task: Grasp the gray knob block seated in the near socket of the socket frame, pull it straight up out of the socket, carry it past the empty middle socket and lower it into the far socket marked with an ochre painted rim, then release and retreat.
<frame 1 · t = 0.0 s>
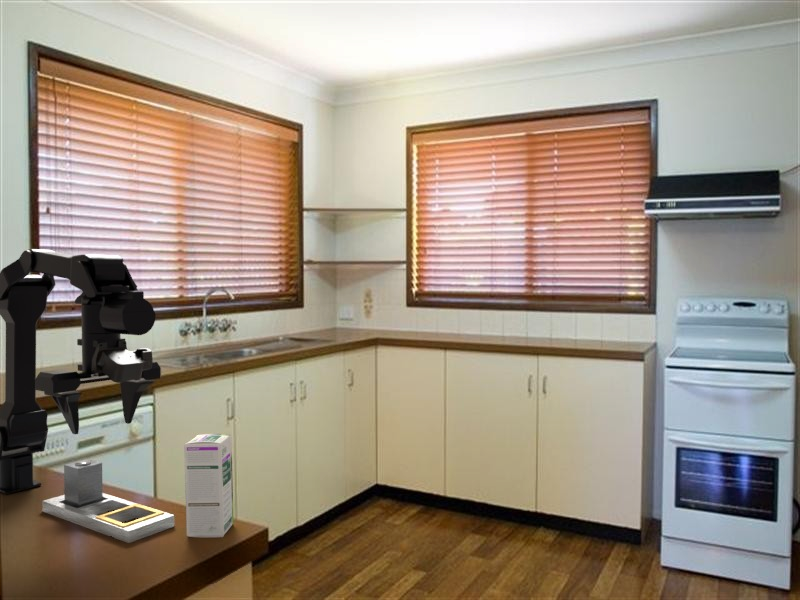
hand: (102, 428, 107), 15 cm above the counter, fingers open, 9 cm apart
gray knob block: (83, 511, 111), resting in socket frame
socket frame: (106, 518, 107), on the counter
syrup box: (210, 531, 102), on the counter
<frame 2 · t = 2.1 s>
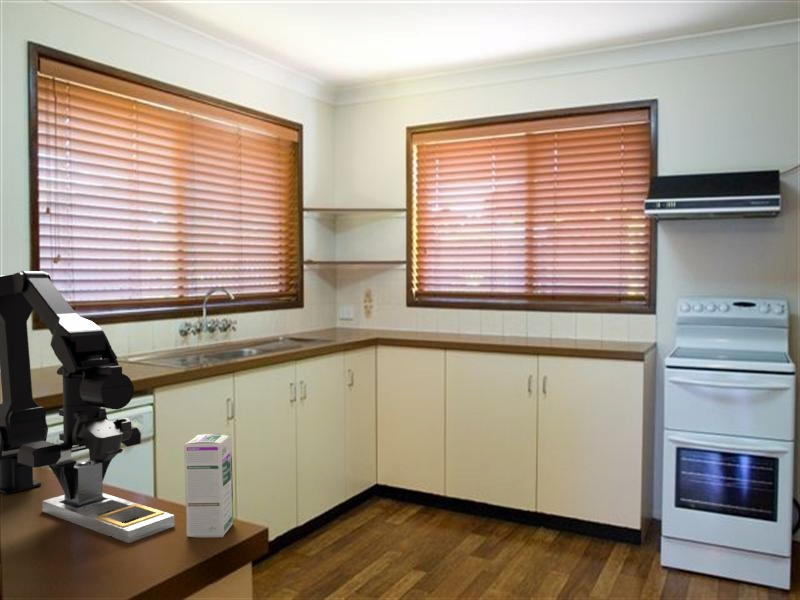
hand: (83, 495, 111), 3 cm above the counter, fingers closed on gray knob block, 4 cm apart
gray knob block: (83, 511, 111), resting in socket frame, touching gripper
everything else where it was.
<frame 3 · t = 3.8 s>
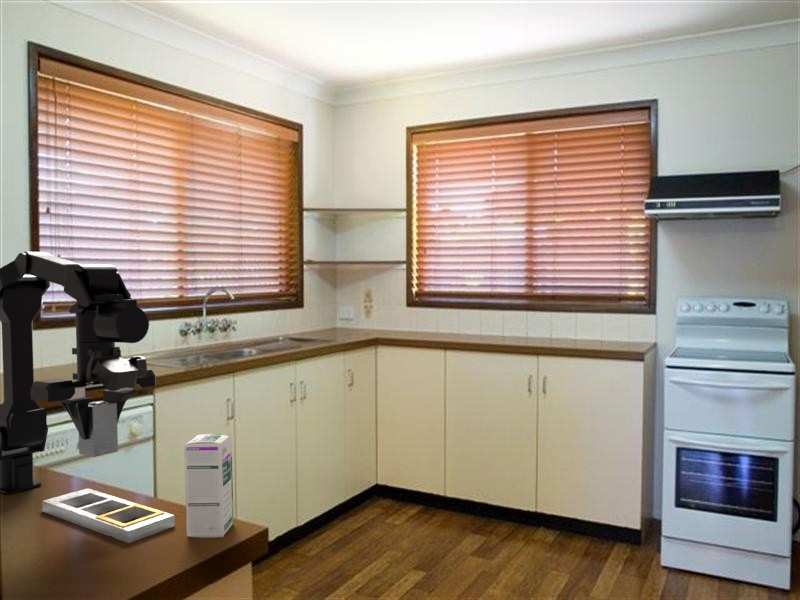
hand: (98, 436, 108), 13 cm above the counter, fingers closed on gray knob block, 4 cm apart
gray knob block: (98, 452, 108), point 11 cm above the counter, touching gripper
everything else where it was.
when the fingers open (4 cm above the counter, at t = 5.9 s): gray knob block drops 1 cm, resting in socket frame.
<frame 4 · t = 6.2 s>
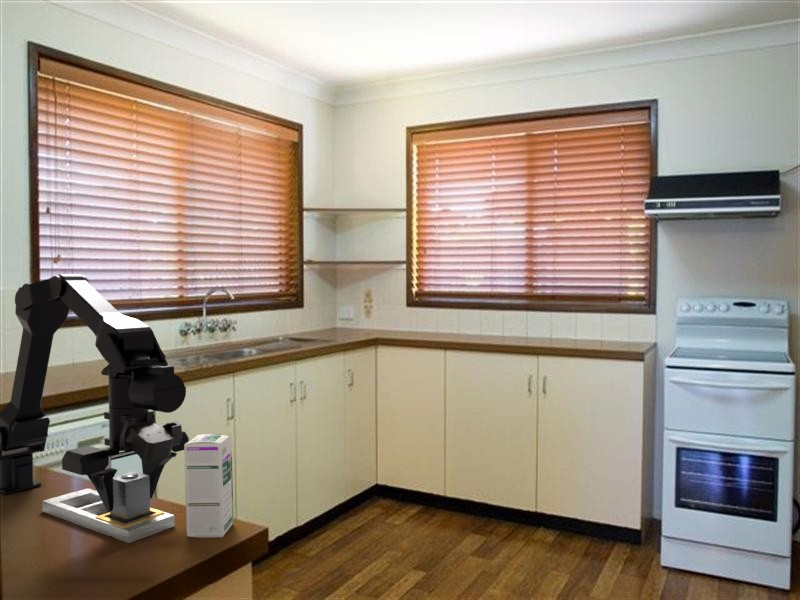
hand: (130, 504, 104), 4 cm above the counter, fingers open, 7 cm apart
gray knob block: (130, 527, 104), resting in socket frame
everything else where it was.
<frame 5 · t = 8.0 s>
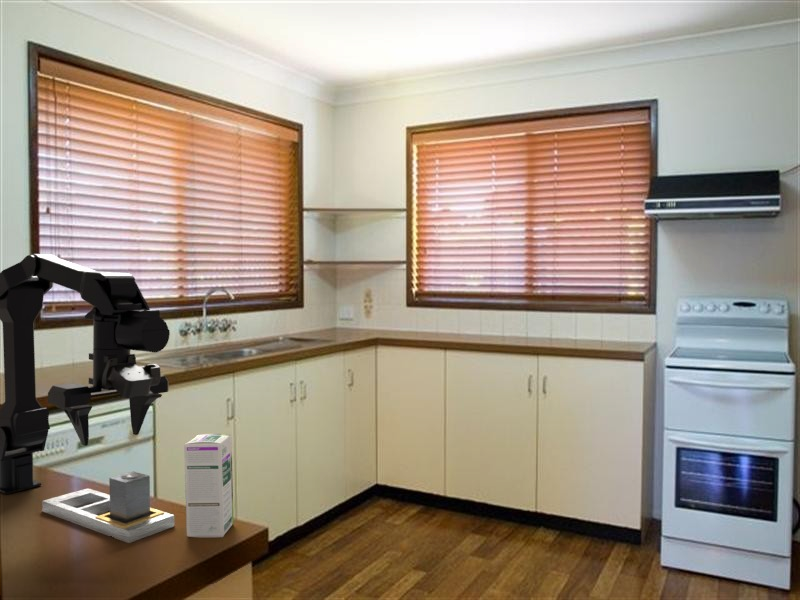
hand: (111, 439, 111), 12 cm above the counter, fingers open, 9 cm apart
nothing on the counter moved.
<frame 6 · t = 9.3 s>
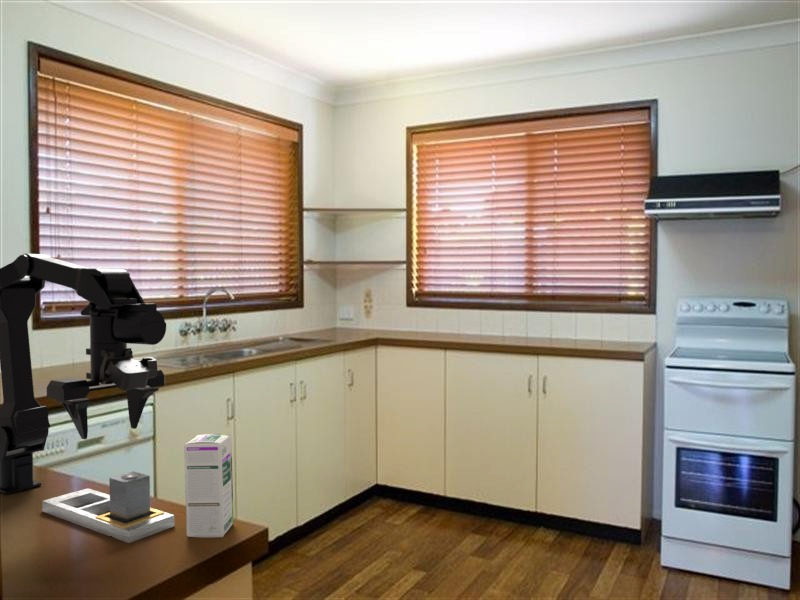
hand: (109, 433, 113), 13 cm above the counter, fingers open, 9 cm apart
nothing on the counter moved.
at the end: gray knob block 0.0 cm from the target spot on the socket frame, point 0.0 cm above the socket frame's base; gray knob block tilted 0°; the gripper is holding nothing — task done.
